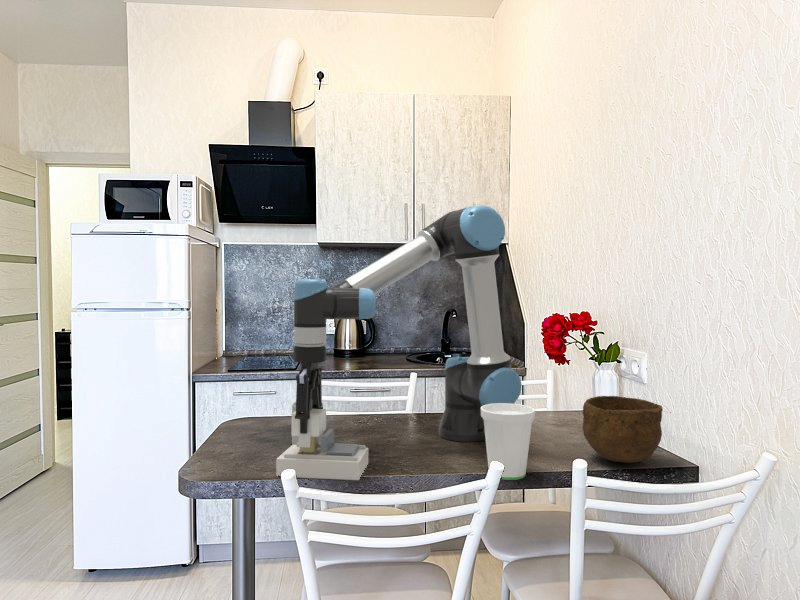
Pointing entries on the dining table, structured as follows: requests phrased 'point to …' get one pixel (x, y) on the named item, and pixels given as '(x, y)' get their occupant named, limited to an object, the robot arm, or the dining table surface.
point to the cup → (508, 436)
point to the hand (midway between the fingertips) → (309, 442)
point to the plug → (316, 427)
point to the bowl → (622, 427)
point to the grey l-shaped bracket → (336, 446)
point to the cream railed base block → (323, 463)
